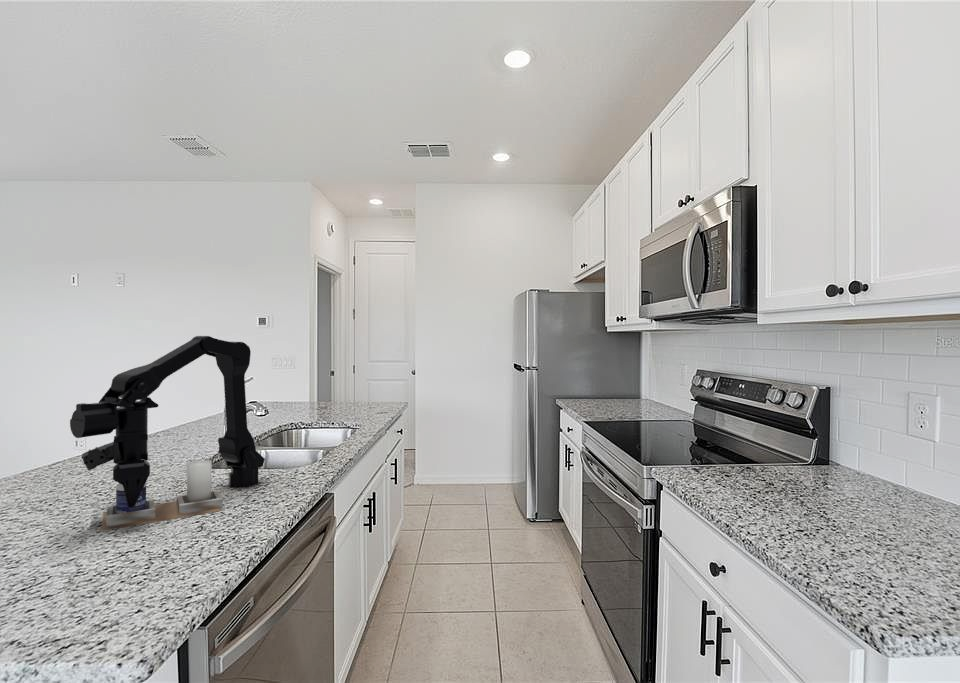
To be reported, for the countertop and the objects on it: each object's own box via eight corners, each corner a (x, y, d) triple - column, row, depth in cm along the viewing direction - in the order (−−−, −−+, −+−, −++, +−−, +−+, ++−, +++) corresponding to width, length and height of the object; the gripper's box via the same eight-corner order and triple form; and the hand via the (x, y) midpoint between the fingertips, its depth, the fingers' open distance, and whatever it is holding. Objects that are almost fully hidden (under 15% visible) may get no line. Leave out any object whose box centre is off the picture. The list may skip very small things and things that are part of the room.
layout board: (215, 501, 124) (215, 487, 124) (223, 516, 114) (223, 501, 114) (103, 518, 112) (103, 503, 112) (100, 538, 101) (101, 521, 101)
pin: (209, 500, 120) (210, 459, 120) (212, 506, 116) (212, 463, 116) (185, 504, 117) (186, 462, 117) (187, 510, 113) (188, 466, 113)
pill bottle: (130, 521, 106) (131, 476, 106) (109, 519, 107) (109, 474, 107) (152, 513, 111) (152, 469, 111) (131, 511, 112) (132, 468, 112)
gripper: (87, 427, 112) (87, 496, 112) (81, 441, 97) (80, 522, 97) (147, 422, 118) (147, 488, 119) (150, 435, 103) (149, 511, 103)
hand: (131, 501), depth 109 cm, fingers open, 8 cm apart
